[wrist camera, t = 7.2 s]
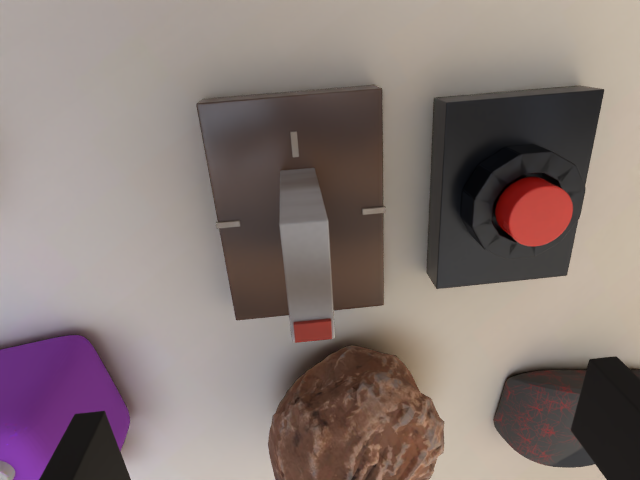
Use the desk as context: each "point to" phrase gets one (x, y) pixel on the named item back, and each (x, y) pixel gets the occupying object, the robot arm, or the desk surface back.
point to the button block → (504, 179)
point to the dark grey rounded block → (543, 416)
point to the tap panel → (264, 188)
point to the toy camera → (50, 400)
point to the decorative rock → (355, 422)
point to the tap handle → (306, 256)
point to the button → (534, 211)
